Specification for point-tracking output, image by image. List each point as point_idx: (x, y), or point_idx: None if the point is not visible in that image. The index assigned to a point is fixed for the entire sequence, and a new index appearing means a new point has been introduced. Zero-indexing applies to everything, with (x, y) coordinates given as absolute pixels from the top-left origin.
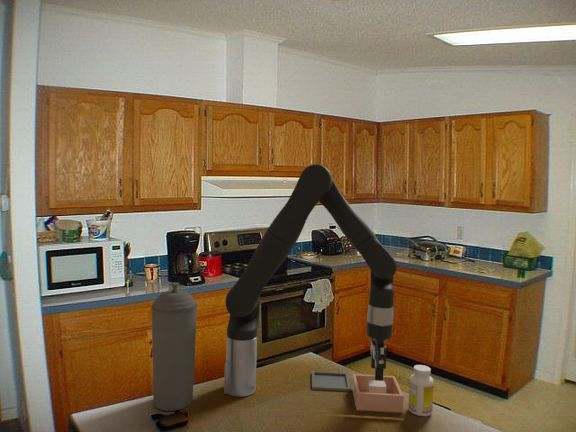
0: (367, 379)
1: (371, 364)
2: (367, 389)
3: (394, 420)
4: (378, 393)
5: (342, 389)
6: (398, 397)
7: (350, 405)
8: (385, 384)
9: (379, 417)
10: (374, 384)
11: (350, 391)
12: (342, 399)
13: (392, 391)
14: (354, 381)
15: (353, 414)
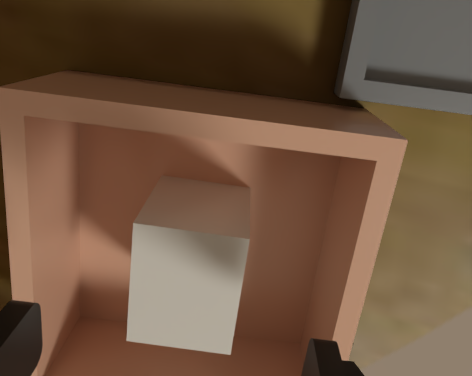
0: (346, 246)
1: (315, 362)
2: (230, 206)
3: (5, 263)
4: (26, 259)
5: (351, 28)
6: None
7: (157, 50)
8: (169, 346)
9: None
10: (166, 271)
11: (337, 92)
12: (244, 8)
13: (284, 349)
14: (241, 119)
15: (36, 43)
